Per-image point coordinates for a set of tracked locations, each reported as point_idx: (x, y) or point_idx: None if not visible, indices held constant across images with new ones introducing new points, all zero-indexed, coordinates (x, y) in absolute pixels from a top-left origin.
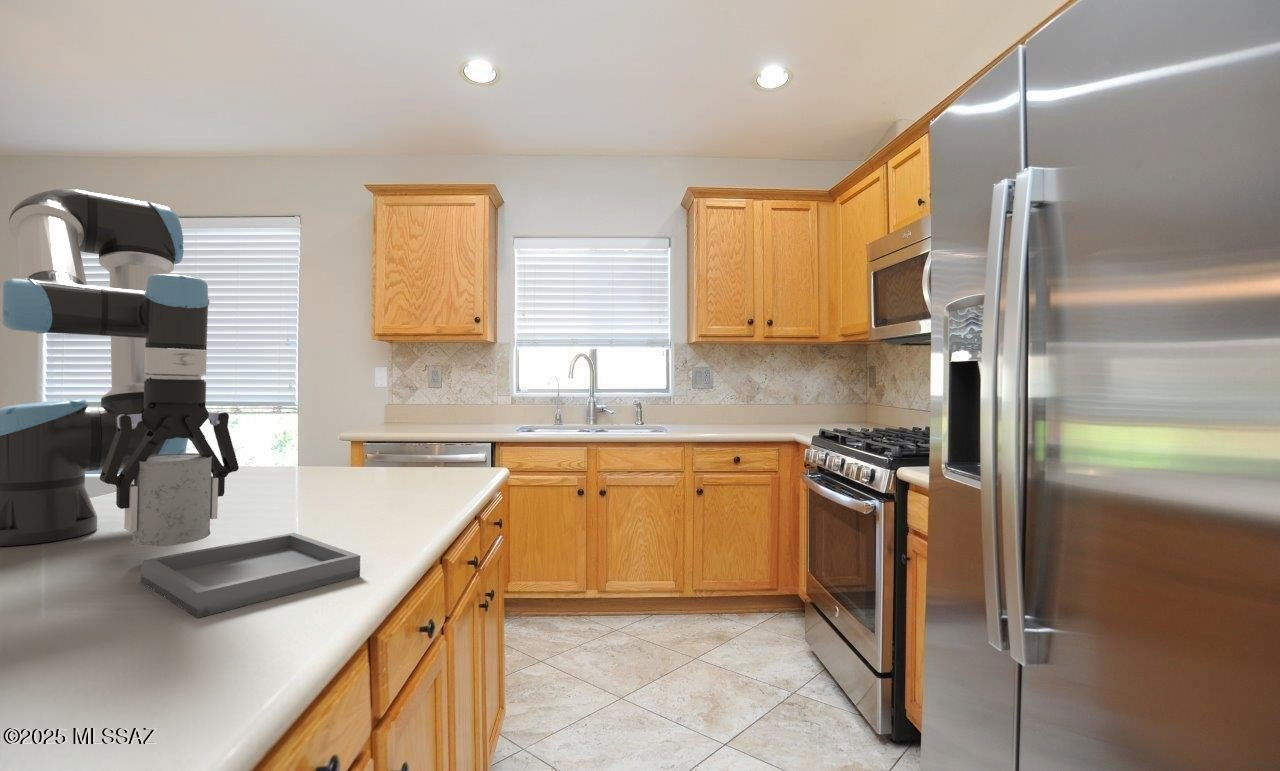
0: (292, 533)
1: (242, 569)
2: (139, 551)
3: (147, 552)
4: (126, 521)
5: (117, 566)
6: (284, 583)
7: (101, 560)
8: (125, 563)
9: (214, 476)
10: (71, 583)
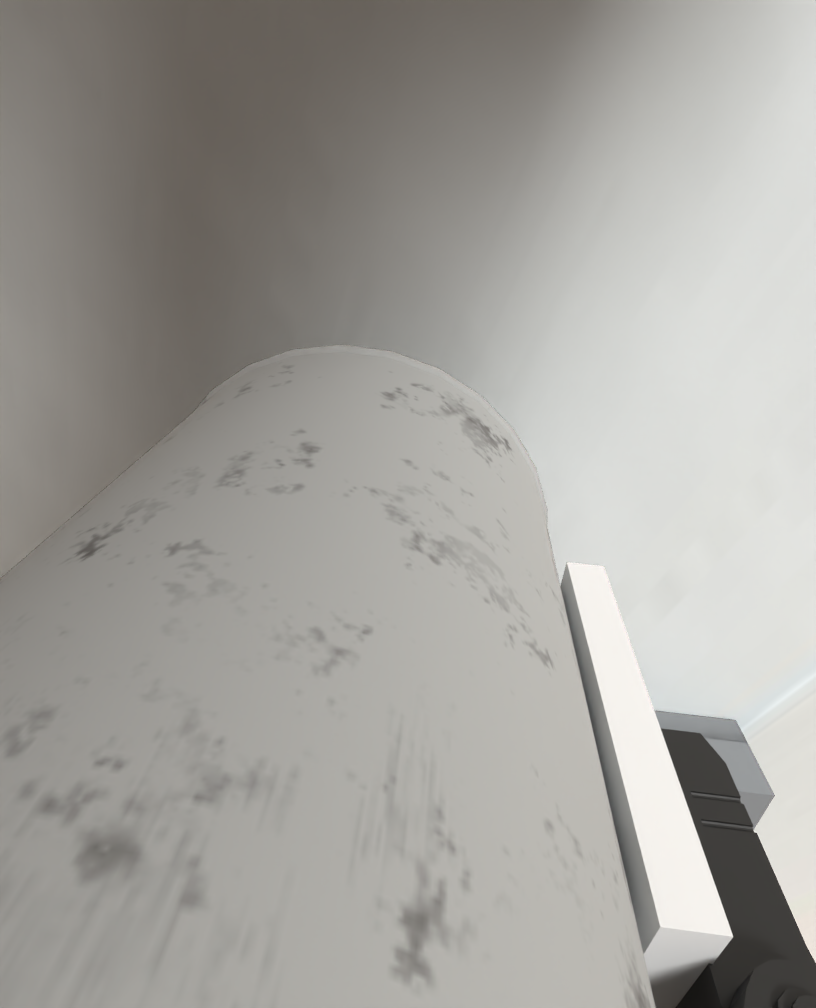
0: (758, 800)
1: None
2: (324, 102)
3: (349, 183)
4: None
5: (175, 380)
6: None
7: (123, 165)
8: (211, 352)
9: (692, 994)
10: (19, 497)
